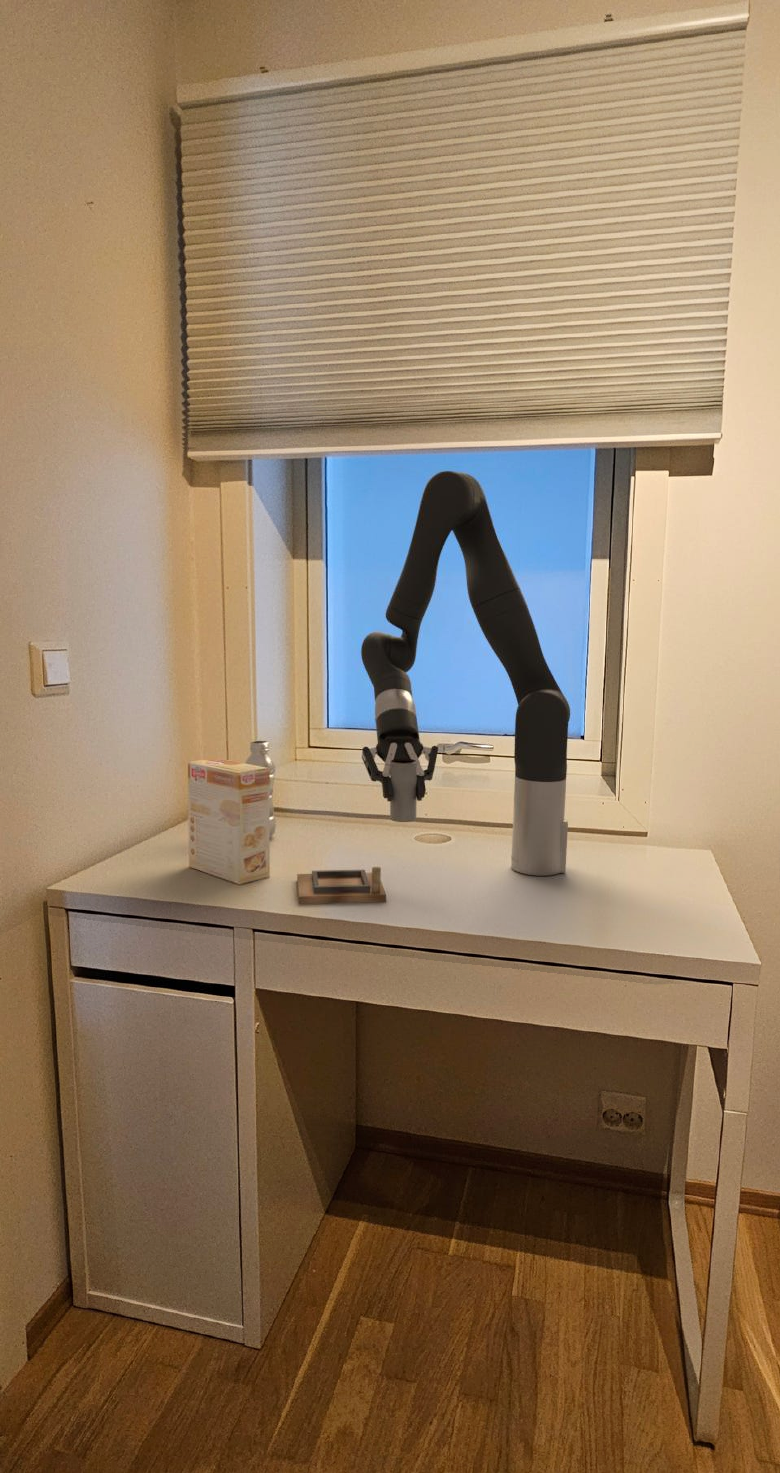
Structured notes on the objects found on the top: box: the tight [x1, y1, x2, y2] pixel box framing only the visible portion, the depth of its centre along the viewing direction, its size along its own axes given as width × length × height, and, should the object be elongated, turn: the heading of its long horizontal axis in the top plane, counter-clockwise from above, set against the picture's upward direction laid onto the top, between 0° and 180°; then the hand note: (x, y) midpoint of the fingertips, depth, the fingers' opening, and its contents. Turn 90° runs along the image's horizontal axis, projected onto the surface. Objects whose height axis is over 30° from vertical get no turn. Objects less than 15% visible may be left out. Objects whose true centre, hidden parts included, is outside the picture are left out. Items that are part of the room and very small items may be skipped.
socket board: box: [296, 866, 387, 905], centre depth 141 cm, size 14×12×5 cm
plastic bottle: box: [244, 740, 277, 838], centre depth 173 cm, size 6×7×20 cm
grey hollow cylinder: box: [389, 759, 418, 823], centre depth 146 cm, size 4×4×10 cm
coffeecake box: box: [187, 757, 271, 885], centre depth 150 cm, size 15×7×20 cm, turn 48°
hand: (405, 798), depth 144 cm, fingers closed on grey hollow cylinder, 4 cm apart
